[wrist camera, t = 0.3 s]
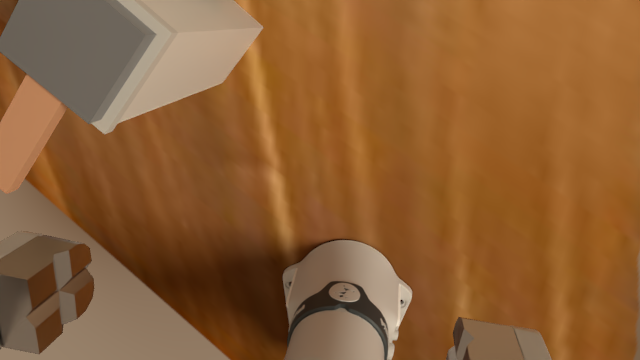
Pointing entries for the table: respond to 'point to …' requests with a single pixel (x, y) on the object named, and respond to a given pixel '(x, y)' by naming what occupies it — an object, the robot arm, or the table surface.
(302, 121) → the table surface
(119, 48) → the toy hammer
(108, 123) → the tall grey box
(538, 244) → the table surface
